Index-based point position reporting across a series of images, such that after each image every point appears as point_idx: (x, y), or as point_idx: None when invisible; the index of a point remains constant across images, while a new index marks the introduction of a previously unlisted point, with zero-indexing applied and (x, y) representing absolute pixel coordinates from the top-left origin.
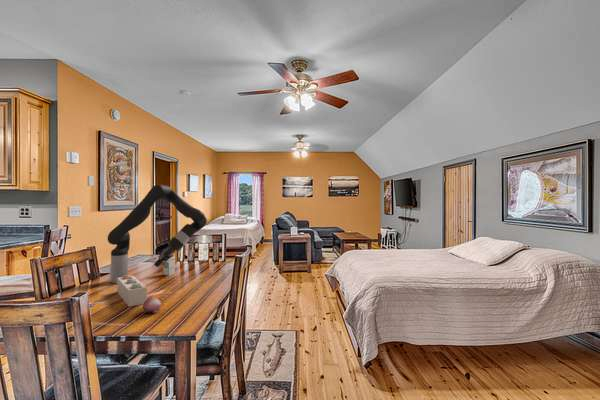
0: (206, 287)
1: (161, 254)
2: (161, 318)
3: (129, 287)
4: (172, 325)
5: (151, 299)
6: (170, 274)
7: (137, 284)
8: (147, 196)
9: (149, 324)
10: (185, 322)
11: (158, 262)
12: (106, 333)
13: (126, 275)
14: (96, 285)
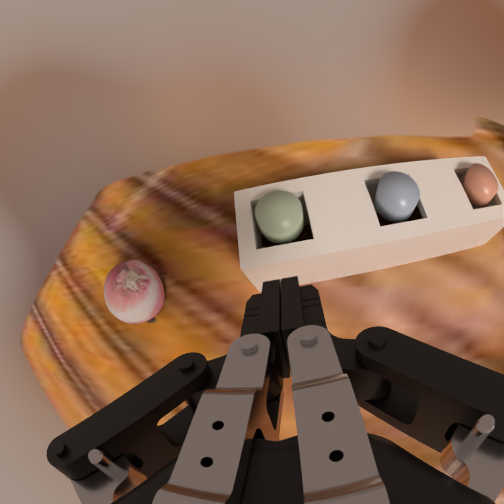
0: None
1: (326, 377)
2: (91, 312)
3: (291, 190)
4: (52, 323)
5: (107, 280)
6: None
7: (267, 216)
8: None
9: (80, 278)
10: (50, 353)
11: (245, 320)
12: (100, 196)
13: (485, 177)
14: None
